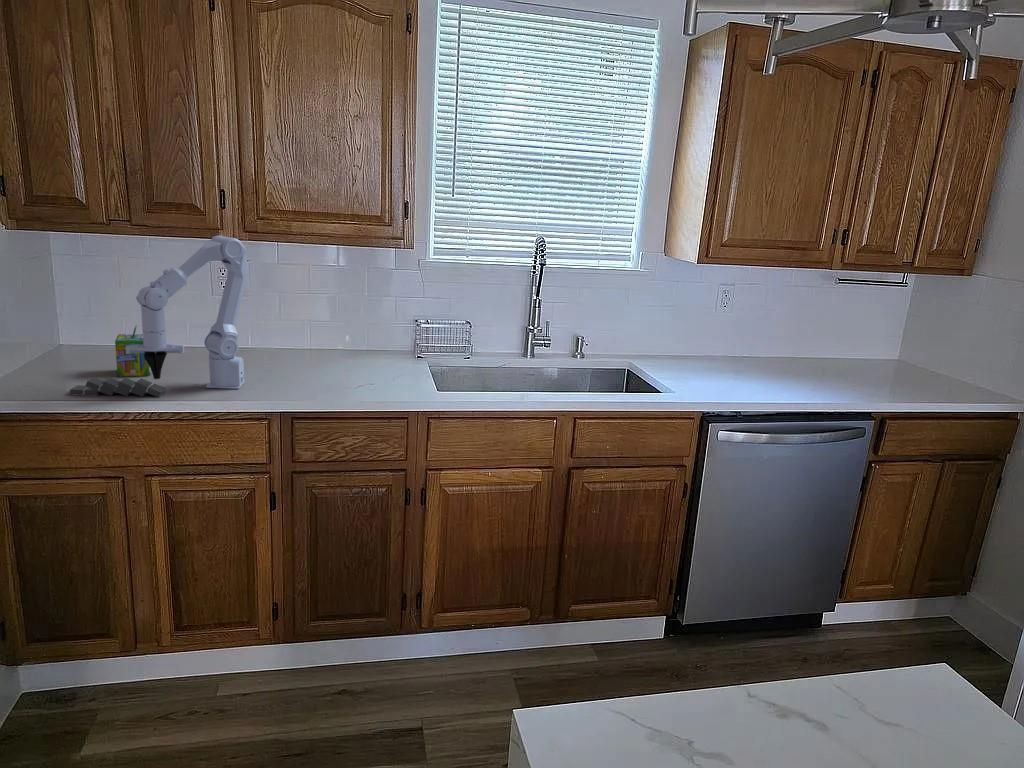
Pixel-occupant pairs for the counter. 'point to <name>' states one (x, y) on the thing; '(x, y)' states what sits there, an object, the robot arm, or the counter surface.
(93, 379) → the domino
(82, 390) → the domino
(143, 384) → the domino
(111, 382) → the domino
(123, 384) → the domino
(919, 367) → the counter surface
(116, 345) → the chalk box
